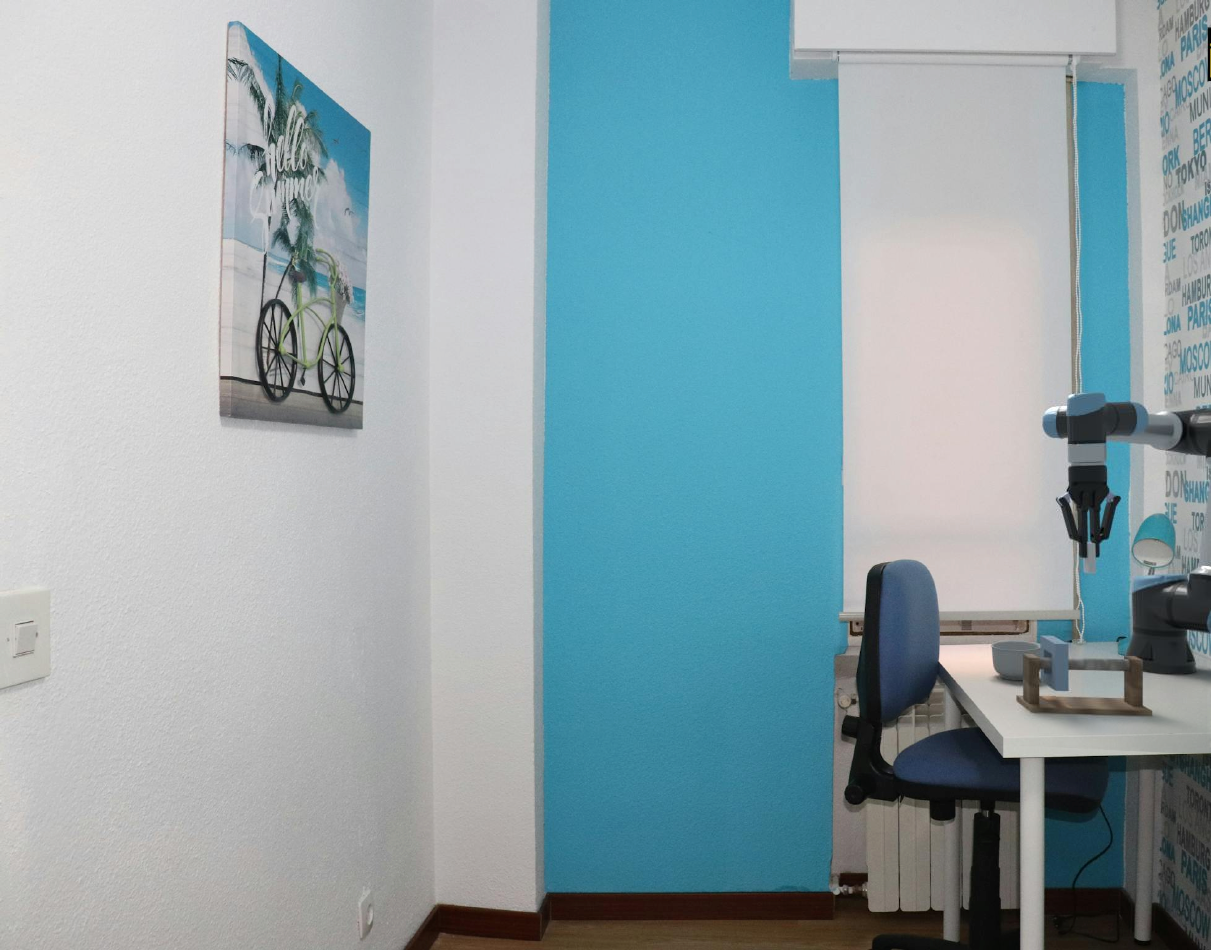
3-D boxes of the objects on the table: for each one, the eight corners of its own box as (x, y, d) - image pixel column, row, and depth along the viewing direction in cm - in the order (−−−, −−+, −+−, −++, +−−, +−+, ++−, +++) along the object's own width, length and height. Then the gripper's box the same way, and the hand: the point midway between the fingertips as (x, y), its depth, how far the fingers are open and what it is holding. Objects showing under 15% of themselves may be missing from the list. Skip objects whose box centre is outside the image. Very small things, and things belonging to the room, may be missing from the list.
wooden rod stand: (1130, 703, 196) (1130, 653, 196) (1152, 715, 186) (1152, 663, 186) (1016, 700, 199) (1016, 651, 199) (1031, 712, 189) (1031, 660, 189)
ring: (1052, 680, 198) (1052, 635, 197) (1068, 691, 188) (1068, 644, 188) (1040, 680, 198) (1040, 635, 198) (1055, 691, 189) (1055, 643, 189)
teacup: (1046, 684, 214) (1046, 649, 214) (996, 682, 216) (996, 647, 216) (1031, 671, 227) (1031, 638, 227) (984, 669, 229) (984, 637, 229)
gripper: (1111, 463, 205) (1113, 570, 205) (1049, 465, 206) (1051, 571, 206) (1126, 463, 197) (1129, 574, 198) (1062, 465, 198) (1065, 575, 199)
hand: (1089, 572), depth 202 cm, fingers closed
